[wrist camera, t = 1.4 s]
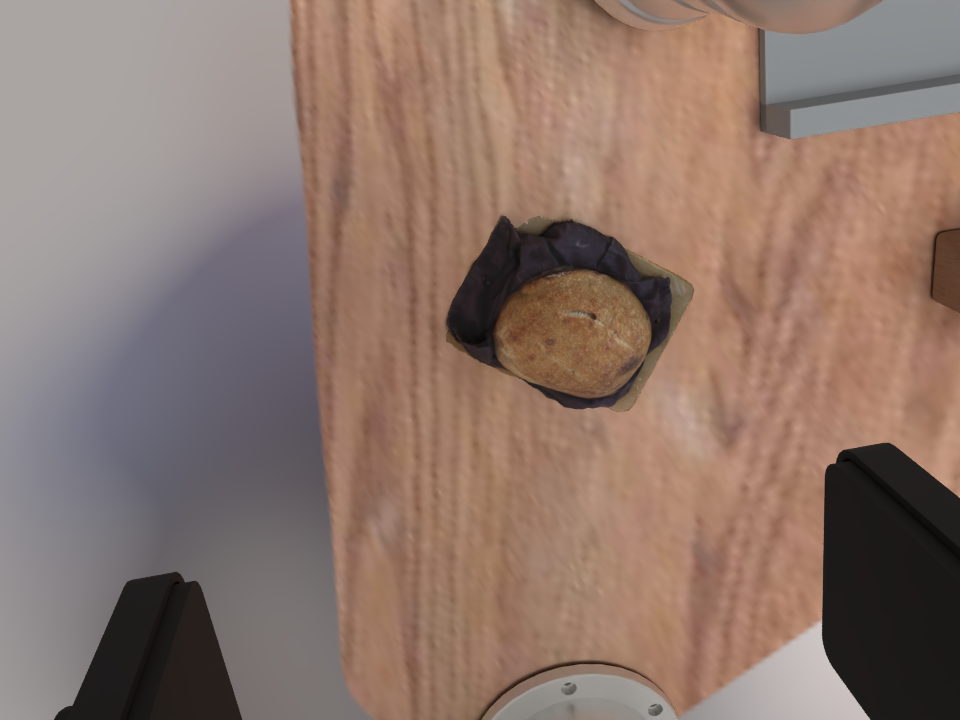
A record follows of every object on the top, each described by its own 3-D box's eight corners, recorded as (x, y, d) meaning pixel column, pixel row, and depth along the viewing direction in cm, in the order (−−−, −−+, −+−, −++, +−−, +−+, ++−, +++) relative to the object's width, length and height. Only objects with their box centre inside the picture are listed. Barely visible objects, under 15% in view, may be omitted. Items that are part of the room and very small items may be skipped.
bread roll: (699, 275, 42) (729, 297, 39) (617, 421, 44) (639, 454, 41) (505, 184, 39) (519, 199, 36) (429, 345, 42) (435, 373, 38)
